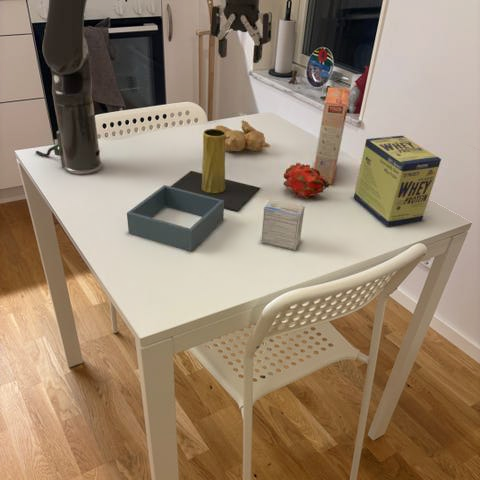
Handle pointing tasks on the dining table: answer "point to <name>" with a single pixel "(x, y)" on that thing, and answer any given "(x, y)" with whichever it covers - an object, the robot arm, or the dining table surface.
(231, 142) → the ginger root
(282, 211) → the medicine box
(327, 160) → the cracker box
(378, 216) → the protein box
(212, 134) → the vase
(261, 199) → the dining table surface
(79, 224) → the dining table surface
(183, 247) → the tub
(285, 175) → the dragon fruit
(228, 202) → the mat
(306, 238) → the dining table surface
